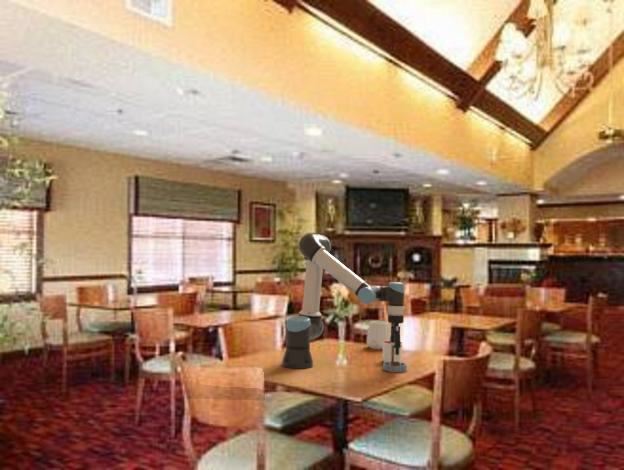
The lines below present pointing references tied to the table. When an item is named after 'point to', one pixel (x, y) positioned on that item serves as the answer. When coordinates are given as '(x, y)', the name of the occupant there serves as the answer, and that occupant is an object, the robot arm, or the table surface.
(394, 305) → the robot arm
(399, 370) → the blue bowl
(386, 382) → the table surface
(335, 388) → the table surface
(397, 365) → the wooden rectangular block
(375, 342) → the vase
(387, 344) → the cup
